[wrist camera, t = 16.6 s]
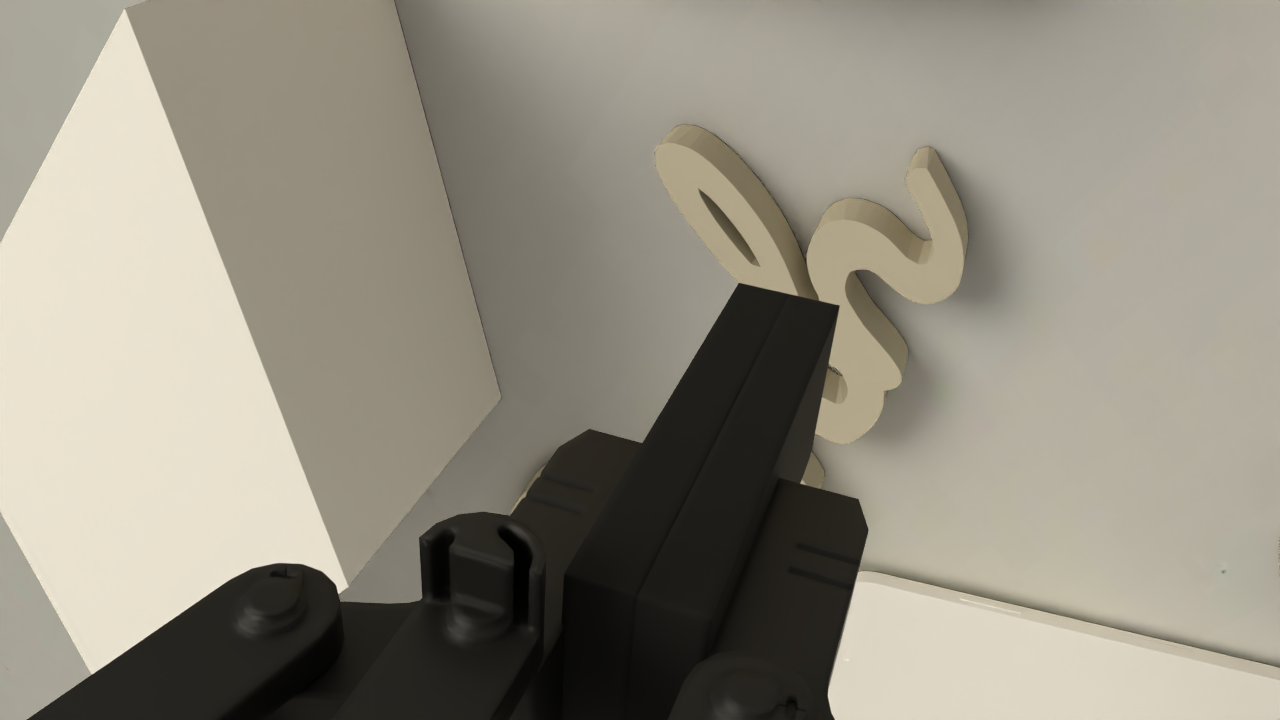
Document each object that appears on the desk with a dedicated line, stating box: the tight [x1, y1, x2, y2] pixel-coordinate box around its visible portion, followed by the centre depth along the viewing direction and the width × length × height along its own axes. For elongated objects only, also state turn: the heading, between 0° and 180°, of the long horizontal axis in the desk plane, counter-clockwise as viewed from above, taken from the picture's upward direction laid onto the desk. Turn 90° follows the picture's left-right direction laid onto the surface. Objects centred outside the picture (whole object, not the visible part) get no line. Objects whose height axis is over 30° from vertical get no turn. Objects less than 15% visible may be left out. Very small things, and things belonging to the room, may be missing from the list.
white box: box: [0, 0, 501, 674], centre depth 36 cm, size 14×29×10 cm, turn 164°
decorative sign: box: [510, 125, 968, 515], centre depth 35 cm, size 23×2×10 cm
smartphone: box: [828, 571, 1280, 720], centre depth 37 cm, size 7×1×15 cm
